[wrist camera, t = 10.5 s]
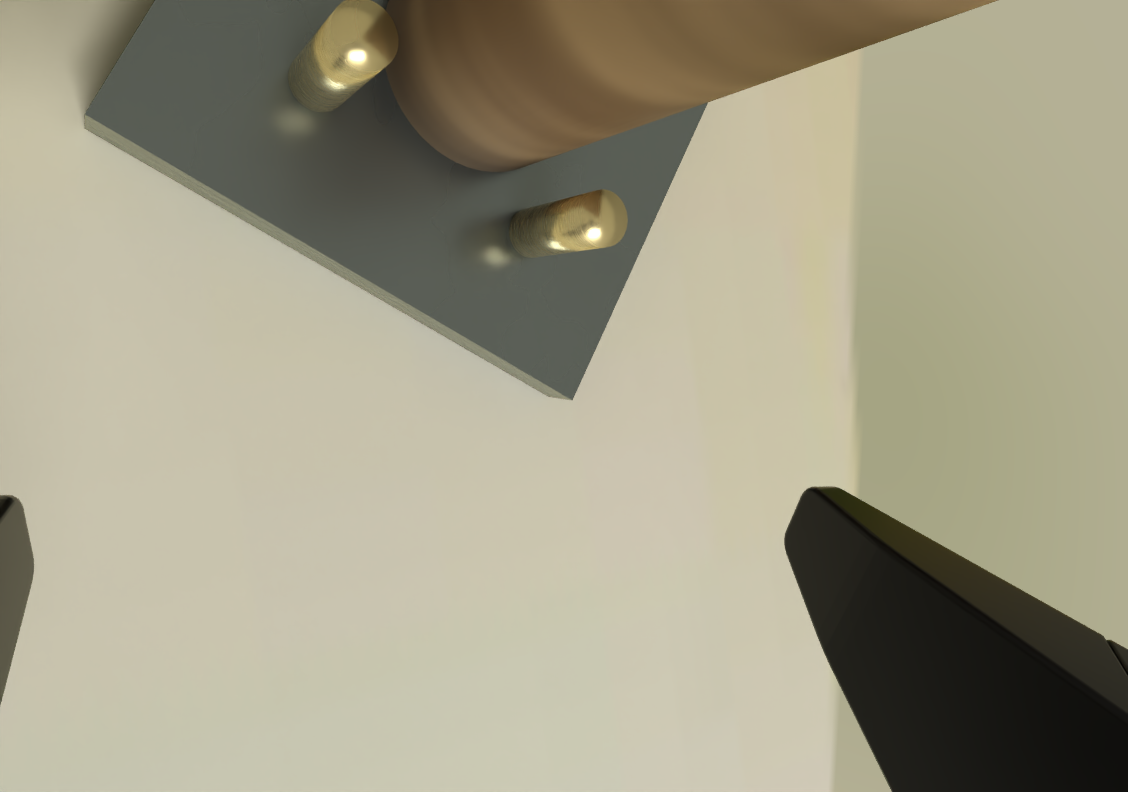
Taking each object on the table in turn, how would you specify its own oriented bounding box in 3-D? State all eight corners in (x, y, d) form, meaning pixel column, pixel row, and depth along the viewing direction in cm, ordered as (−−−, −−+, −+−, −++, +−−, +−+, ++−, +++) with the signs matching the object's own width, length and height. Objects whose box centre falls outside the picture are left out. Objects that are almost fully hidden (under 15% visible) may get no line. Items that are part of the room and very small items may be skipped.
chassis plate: (548, 396, 21) (648, 412, 17) (84, 127, 15) (85, 64, 11) (714, 37, 23) (835, -18, 19) (363, -327, 17) (441, -506, 13)
